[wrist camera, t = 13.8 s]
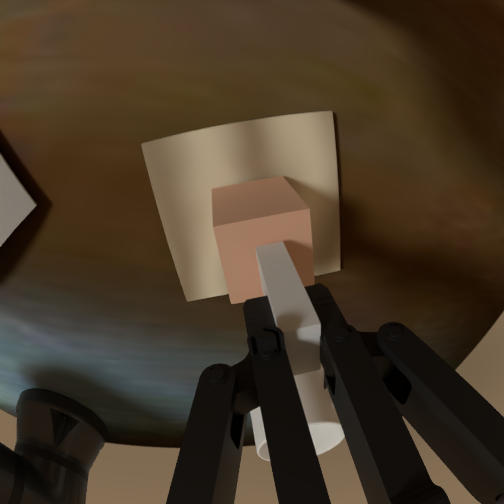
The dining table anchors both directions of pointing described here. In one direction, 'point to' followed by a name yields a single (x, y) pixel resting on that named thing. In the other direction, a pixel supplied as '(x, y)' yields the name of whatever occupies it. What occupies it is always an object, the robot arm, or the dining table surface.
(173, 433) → the dining table surface
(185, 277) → the board
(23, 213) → the book
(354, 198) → the dining table surface
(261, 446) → the mug
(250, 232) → the pink rectangular block
